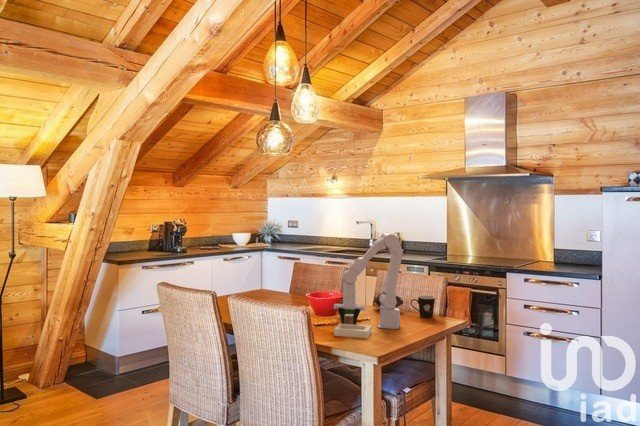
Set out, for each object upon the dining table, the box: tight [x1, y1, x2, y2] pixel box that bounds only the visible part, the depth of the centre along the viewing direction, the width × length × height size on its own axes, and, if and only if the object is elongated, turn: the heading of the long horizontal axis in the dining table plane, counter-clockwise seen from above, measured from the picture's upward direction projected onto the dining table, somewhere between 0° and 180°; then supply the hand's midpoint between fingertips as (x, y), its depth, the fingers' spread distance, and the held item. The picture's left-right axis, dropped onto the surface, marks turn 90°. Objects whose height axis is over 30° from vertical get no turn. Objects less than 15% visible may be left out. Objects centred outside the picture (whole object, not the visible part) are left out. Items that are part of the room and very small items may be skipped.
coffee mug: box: [410, 295, 436, 319], centre depth 269 cm, size 12×9×10 cm
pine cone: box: [372, 292, 404, 308], centre depth 283 cm, size 18×10×10 cm, turn 57°
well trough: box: [333, 322, 373, 339], centre depth 236 cm, size 15×10×3 cm, turn 75°
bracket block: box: [344, 314, 354, 324], centre depth 246 cm, size 4×4×6 cm
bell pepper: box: [339, 300, 357, 314], centre depth 267 cm, size 8×8×10 cm
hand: (349, 324), depth 246 cm, fingers open, 5 cm apart
